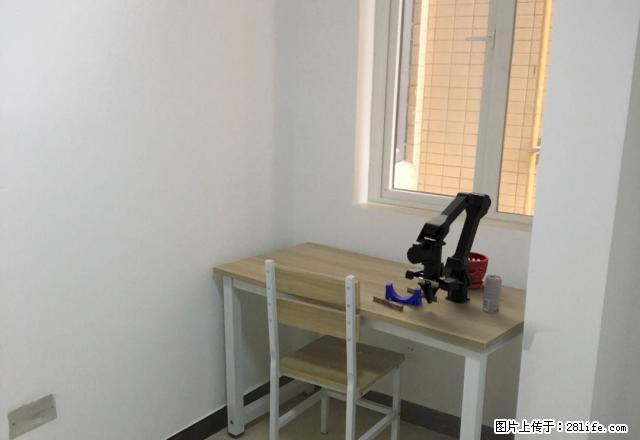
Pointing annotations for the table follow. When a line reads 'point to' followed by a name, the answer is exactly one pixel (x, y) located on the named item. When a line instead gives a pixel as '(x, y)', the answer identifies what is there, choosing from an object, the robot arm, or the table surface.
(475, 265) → the plant pot
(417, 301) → the cable clip
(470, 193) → the robot arm
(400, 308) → the brown wooden bars
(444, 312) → the table surface
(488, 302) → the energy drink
